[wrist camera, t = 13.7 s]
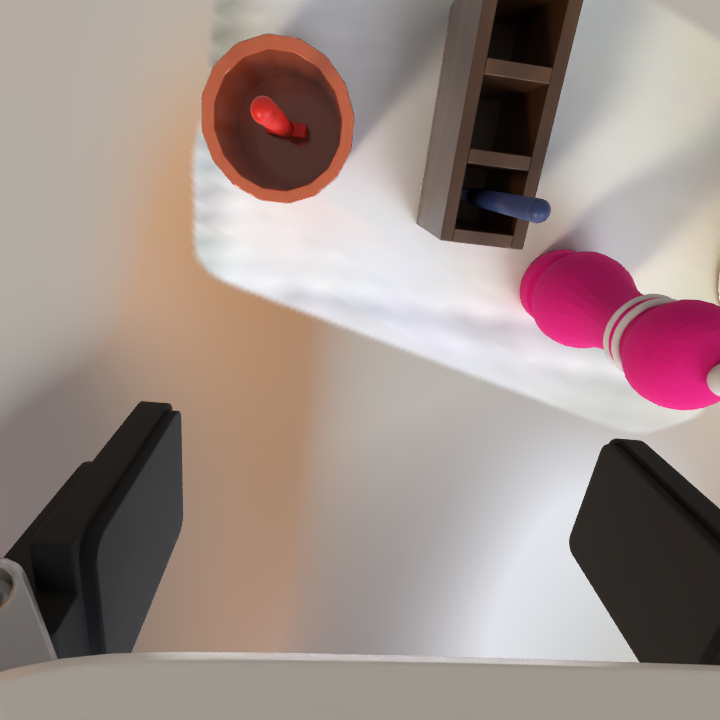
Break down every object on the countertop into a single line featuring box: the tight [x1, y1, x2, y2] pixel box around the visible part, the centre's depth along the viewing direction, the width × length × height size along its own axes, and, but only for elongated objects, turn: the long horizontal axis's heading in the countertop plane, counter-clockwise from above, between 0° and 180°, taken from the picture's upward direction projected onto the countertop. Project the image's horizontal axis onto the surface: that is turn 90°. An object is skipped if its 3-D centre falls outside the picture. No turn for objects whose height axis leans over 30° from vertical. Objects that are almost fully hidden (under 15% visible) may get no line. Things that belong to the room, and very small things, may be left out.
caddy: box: [417, 0, 583, 250], centre depth 32 cm, size 5×15×9 cm, turn 173°
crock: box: [202, 34, 354, 203], centre depth 31 cm, size 8×8×9 cm
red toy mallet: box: [250, 96, 309, 141], centre depth 27 cm, size 3×1×16 cm, turn 83°
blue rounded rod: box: [460, 188, 551, 223], centre depth 29 cm, size 3×1×16 cm, turn 83°
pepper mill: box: [520, 250, 720, 410], centre depth 31 cm, size 7×7×20 cm
